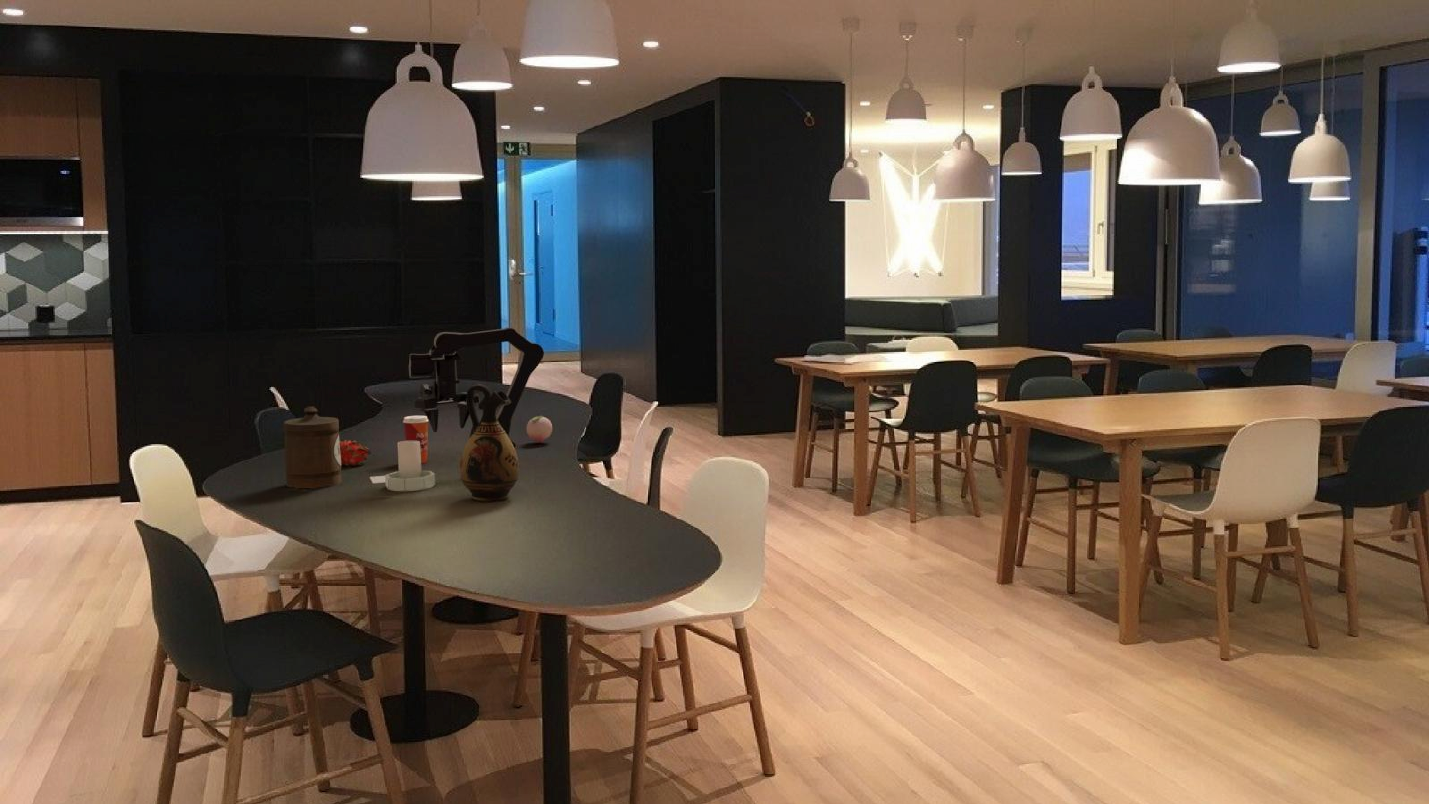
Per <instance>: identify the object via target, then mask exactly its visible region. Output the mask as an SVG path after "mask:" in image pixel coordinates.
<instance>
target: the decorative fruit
mask: <svg viewBox="0 0 1429 804" xmlns="http://www.w3.org/2000/svg"><path fill="white" fill-rule="evenodd" d="M526 432H527V435H528V437H529V438H530V439H531V440H533V442H535V443H536V444H540V443H542V442H543V441H544V440H545V441H546V439H548V438H549V437H550V436H551V434H552V433H553V425H552V422H551V420H550V419H549V418H547V417H544V416H543V415H540V413H537V415H536V416H535V417H533V418H531V419H530V420H529V421H528V423H527V424H526Z"/></svg>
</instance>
